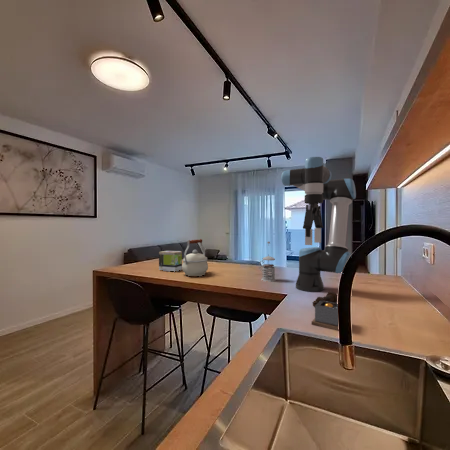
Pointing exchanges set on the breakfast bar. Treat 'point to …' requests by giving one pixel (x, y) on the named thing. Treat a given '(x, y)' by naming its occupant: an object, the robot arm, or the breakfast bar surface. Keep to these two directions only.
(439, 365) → the breakfast bar surface
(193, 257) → the kettle
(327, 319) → the grey open box
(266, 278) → the french press
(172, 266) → the tea box
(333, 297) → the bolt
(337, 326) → the keeper base
